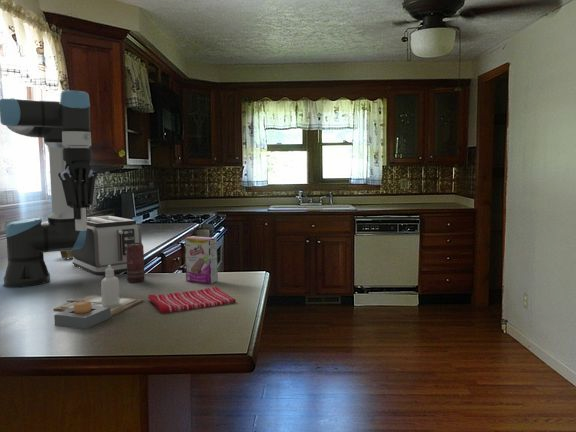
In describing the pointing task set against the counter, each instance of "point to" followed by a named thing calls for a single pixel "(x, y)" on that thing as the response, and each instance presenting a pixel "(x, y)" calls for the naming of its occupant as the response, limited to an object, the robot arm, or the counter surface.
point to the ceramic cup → (66, 254)
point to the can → (135, 262)
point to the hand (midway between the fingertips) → (81, 230)
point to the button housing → (82, 317)
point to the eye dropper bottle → (110, 288)
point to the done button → (82, 307)
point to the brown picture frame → (97, 301)
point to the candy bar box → (201, 259)
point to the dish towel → (190, 300)
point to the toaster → (106, 244)
